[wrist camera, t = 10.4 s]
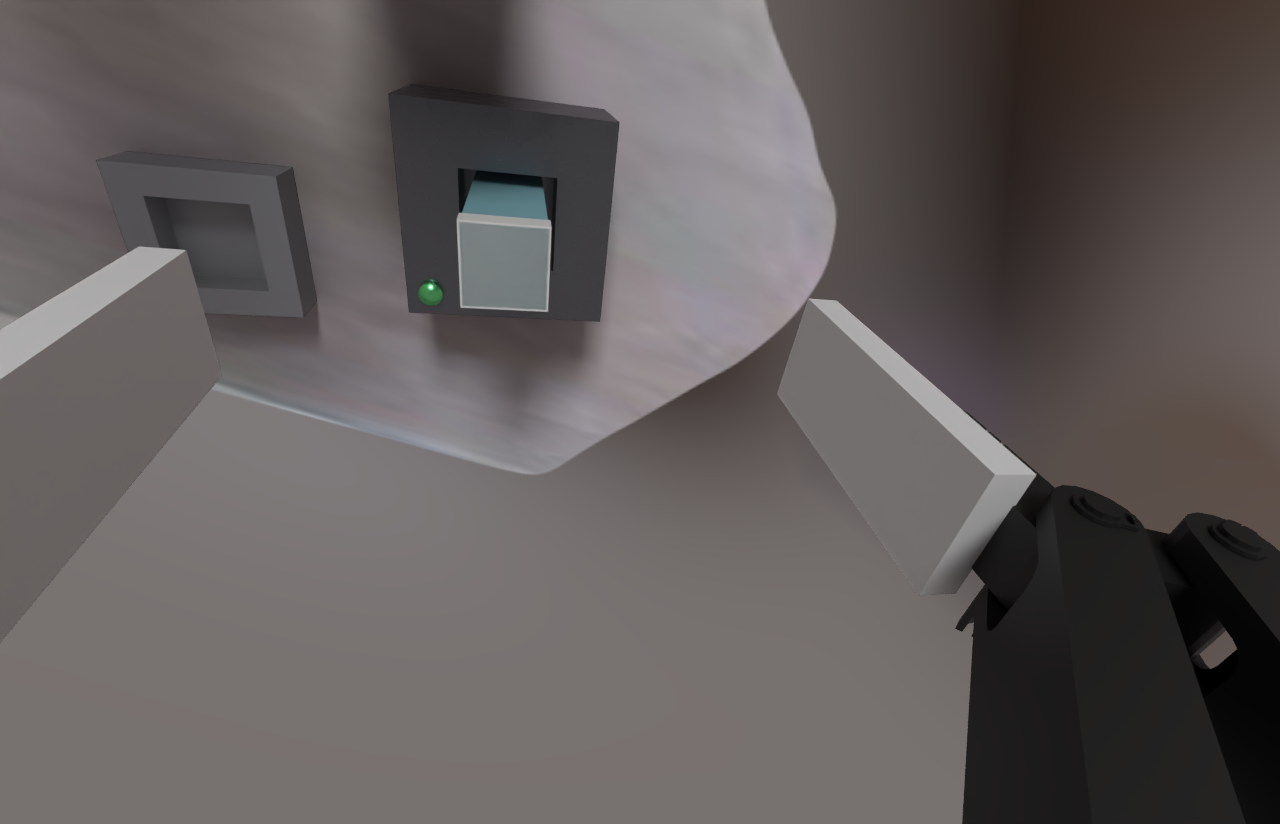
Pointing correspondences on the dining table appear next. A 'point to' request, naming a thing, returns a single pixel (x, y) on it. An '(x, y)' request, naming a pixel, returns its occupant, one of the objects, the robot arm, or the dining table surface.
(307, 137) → the dining table surface
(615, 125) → the port
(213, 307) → the square frame socket
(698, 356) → the dining table surface
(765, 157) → the dining table surface
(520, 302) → the plug
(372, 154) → the dining table surface
